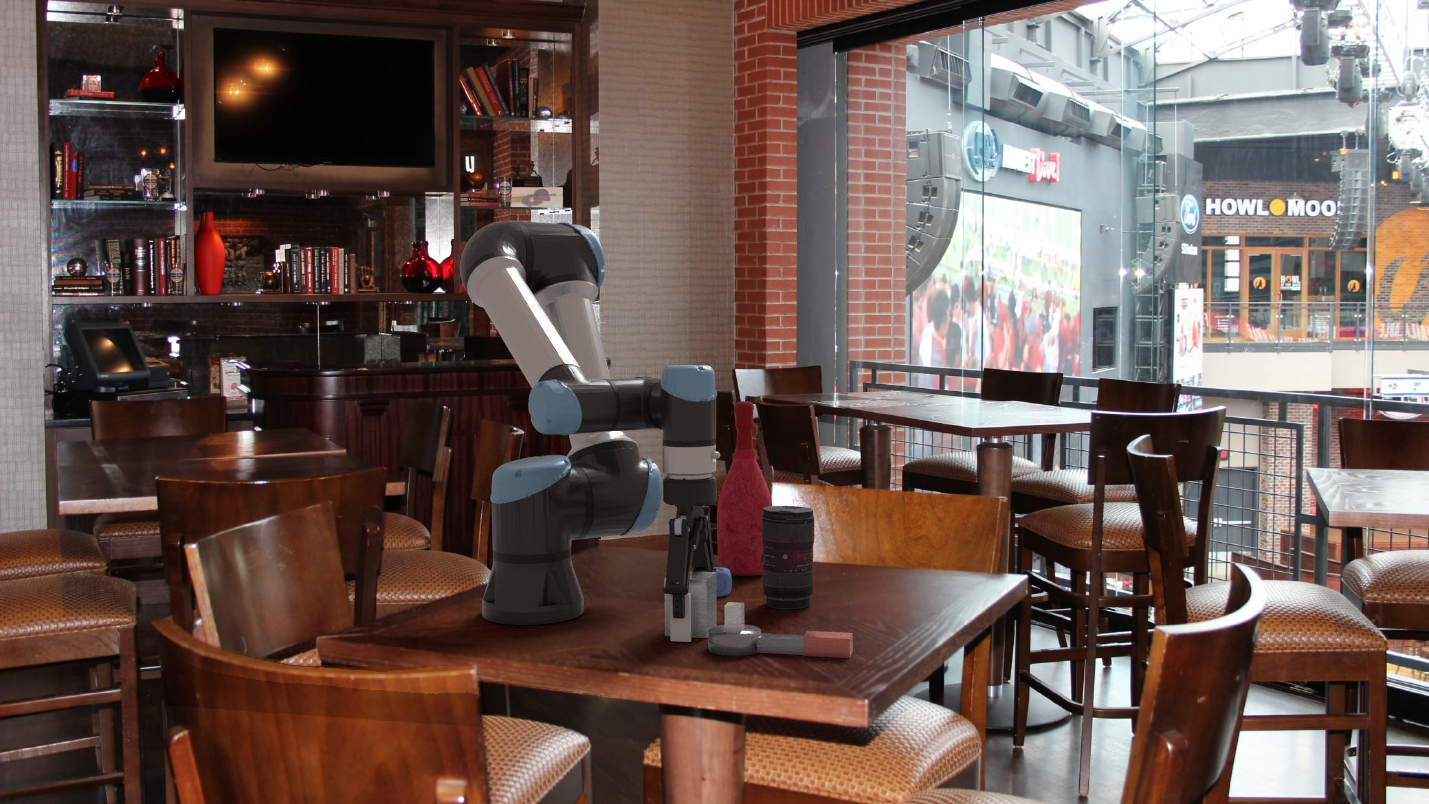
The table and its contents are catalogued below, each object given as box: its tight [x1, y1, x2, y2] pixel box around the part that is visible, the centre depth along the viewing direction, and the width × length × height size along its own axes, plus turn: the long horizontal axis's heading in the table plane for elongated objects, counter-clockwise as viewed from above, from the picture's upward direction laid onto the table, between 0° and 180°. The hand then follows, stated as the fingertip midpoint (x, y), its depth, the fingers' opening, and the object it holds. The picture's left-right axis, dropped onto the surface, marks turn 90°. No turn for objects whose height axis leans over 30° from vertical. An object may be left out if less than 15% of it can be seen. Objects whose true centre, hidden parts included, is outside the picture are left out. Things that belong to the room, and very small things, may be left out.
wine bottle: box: [716, 400, 773, 577], centre depth 214 cm, size 10×10×30 cm
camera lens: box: [761, 505, 816, 610], centre depth 189 cm, size 8×8×15 cm
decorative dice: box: [714, 566, 733, 597], centre depth 197 cm, size 4×4×4 cm
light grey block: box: [663, 570, 718, 639], centre depth 172 cm, size 6×6×8 cm
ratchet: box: [707, 601, 854, 659], centre depth 162 cm, size 19×7×6 cm, turn 77°
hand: (691, 630), depth 173 cm, fingers open, 11 cm apart
